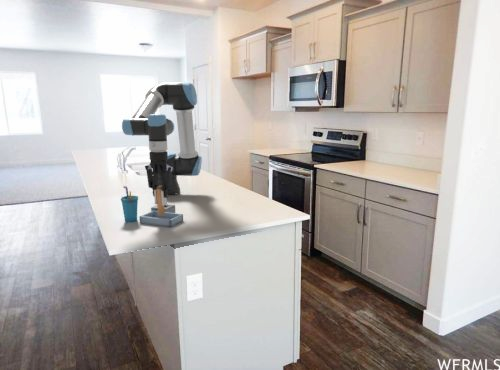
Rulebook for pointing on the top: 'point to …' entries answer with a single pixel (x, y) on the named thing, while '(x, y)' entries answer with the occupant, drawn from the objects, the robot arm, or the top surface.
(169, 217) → the tray
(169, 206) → the hitch block
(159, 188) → the pin
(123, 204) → the cup
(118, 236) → the top surface
